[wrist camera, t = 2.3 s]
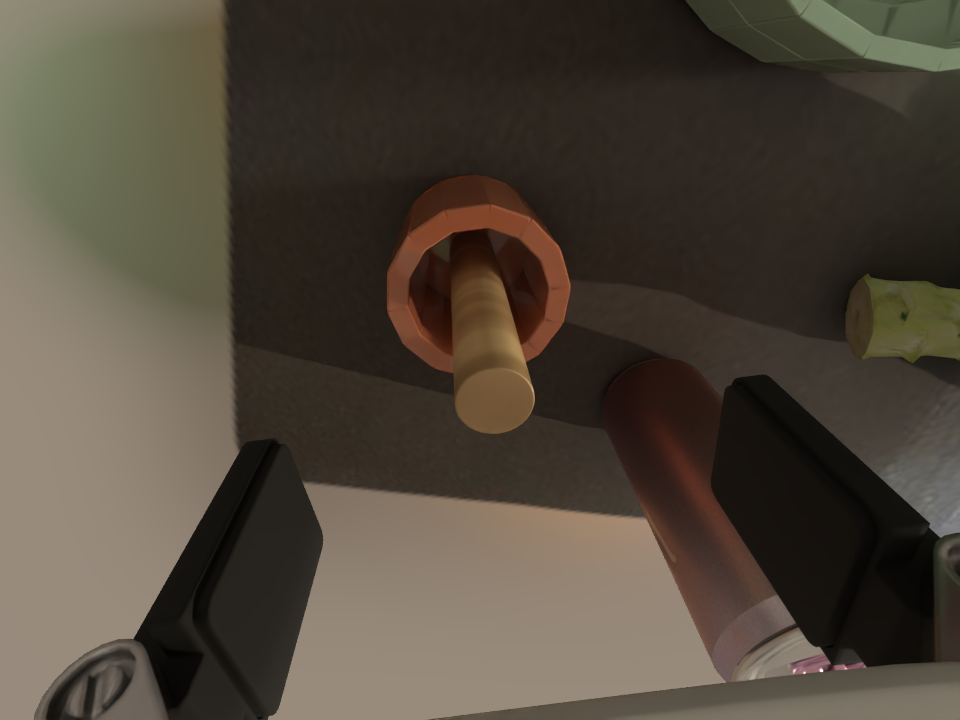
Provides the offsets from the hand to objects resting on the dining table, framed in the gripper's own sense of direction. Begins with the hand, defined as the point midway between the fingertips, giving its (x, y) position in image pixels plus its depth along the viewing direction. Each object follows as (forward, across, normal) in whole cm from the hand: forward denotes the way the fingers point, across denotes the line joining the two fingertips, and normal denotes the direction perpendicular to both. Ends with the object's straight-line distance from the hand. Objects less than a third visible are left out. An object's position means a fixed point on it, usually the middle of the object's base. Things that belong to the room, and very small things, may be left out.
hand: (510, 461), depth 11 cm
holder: (+14, 0, 0) cm, 14 cm away
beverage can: (+15, -9, +10) cm, 20 cm away
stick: (+14, 0, 0) cm, 14 cm away
